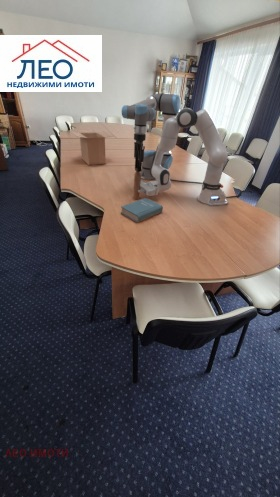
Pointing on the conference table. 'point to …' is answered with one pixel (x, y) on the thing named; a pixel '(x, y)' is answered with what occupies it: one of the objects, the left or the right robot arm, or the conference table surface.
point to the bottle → (137, 185)
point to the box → (92, 146)
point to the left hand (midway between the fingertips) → (137, 170)
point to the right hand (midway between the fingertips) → (135, 189)
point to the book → (141, 209)
